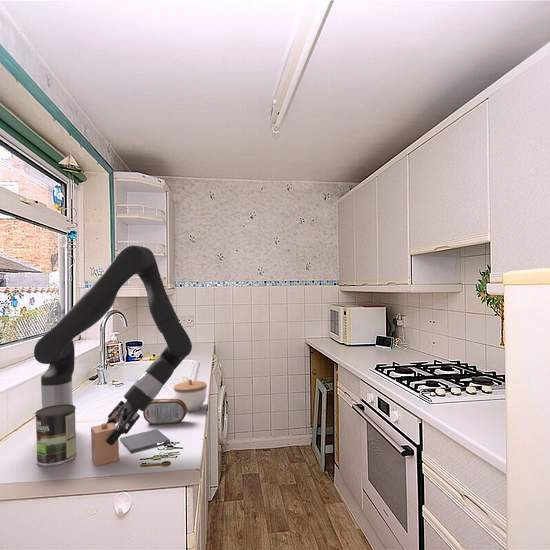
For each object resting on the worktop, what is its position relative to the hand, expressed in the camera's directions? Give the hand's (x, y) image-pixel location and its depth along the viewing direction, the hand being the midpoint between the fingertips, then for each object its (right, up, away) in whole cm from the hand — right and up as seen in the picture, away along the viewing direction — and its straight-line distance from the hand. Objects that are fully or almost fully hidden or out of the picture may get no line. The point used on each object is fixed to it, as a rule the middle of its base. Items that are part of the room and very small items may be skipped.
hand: (105, 438), depth 118 cm
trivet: (+7, -6, +12) cm, 15 cm away
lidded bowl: (+15, -6, +45) cm, 48 cm away
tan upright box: (0, -6, 0) cm, 6 cm away
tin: (+10, -6, +28) cm, 31 cm away
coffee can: (-15, -7, +2) cm, 16 cm away
